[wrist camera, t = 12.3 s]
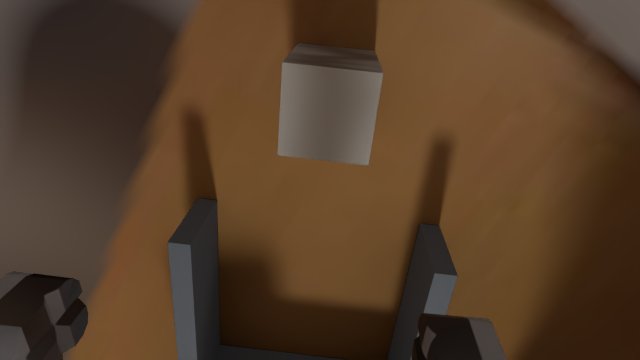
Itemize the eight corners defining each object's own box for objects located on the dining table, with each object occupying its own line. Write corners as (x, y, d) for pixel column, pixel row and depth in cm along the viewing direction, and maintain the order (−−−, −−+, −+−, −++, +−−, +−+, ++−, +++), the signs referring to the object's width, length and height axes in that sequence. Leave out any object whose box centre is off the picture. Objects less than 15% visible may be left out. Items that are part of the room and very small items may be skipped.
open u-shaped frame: (439, 225, 32) (457, 275, 26) (398, 376, 39) (406, 439, 34) (198, 198, 32) (167, 242, 27) (205, 353, 40) (182, 412, 34)
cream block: (375, 51, 26) (383, 73, 20) (364, 124, 28) (368, 165, 22) (298, 42, 26) (282, 62, 20) (293, 116, 29) (277, 155, 22)
